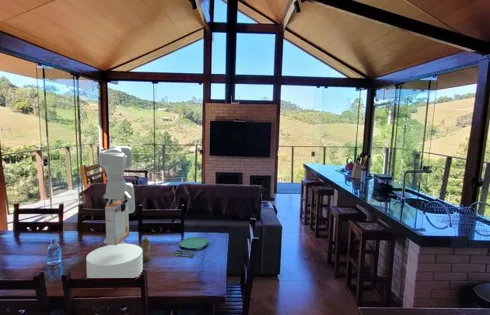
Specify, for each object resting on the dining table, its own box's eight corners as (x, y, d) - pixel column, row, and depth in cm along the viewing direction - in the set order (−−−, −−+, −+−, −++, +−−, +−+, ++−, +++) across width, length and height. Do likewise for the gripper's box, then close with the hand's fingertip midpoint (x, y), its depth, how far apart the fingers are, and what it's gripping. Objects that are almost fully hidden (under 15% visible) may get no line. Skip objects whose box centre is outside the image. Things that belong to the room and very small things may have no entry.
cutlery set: (213, 241, 214) (213, 238, 214) (195, 259, 186) (195, 256, 185) (187, 238, 220) (187, 235, 219) (166, 255, 191) (166, 252, 191)
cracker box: (119, 235, 171) (118, 199, 169) (129, 235, 170) (129, 199, 168) (105, 244, 157) (104, 205, 155) (116, 245, 157) (115, 206, 154)
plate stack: (105, 260, 181) (105, 242, 179) (150, 263, 178) (150, 245, 177) (74, 284, 153) (74, 263, 152) (127, 289, 150) (127, 267, 149)
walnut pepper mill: (139, 261, 181) (139, 238, 179) (144, 257, 186) (143, 235, 184) (147, 261, 180) (147, 238, 178) (151, 258, 185) (151, 235, 183)
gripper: (97, 178, 157) (98, 211, 159) (128, 179, 155) (128, 213, 157) (105, 175, 165) (106, 207, 167) (135, 177, 163) (135, 209, 165)
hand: (117, 210), depth 162 cm, fingers closed on cracker box, 6 cm apart
